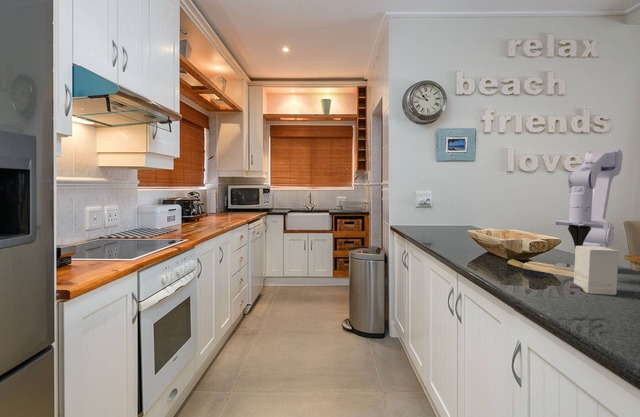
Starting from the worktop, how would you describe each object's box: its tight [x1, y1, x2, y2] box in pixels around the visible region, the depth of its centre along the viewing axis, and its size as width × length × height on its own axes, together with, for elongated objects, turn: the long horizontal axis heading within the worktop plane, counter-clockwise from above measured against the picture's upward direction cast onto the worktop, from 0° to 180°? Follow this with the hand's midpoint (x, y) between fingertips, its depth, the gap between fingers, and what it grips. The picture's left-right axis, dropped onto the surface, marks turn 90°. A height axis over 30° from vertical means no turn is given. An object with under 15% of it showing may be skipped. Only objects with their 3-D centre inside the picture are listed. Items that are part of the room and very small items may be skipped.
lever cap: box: [553, 262, 575, 271], centre depth 110 cm, size 5×6×2 cm
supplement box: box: [573, 246, 620, 296], centre depth 95 cm, size 7×7×13 cm
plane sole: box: [519, 260, 574, 278], centre depth 114 cm, size 7×17×2 cm, turn 39°
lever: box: [507, 258, 525, 268], centre depth 122 cm, size 4×1×5 cm
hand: (578, 248), depth 107 cm, fingers closed
